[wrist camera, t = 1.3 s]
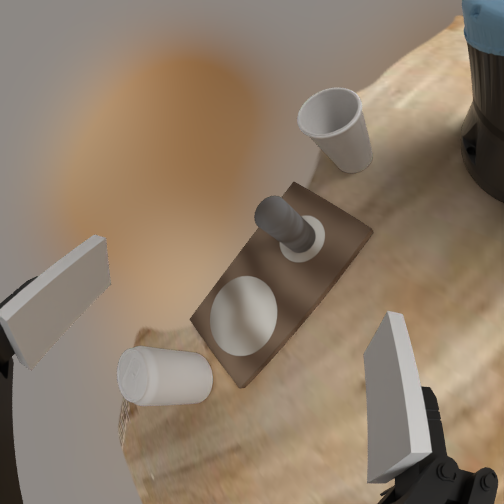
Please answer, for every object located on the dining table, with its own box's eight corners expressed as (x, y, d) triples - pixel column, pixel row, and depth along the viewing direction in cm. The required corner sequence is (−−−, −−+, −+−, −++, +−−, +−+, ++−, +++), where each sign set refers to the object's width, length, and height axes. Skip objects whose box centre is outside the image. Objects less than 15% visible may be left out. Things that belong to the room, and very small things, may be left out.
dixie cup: (340, 130, 41) (313, 84, 34) (389, 140, 36) (371, 90, 28) (317, 173, 41) (285, 131, 34) (368, 188, 36) (344, 142, 28)
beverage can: (172, 385, 44) (109, 382, 35) (188, 343, 45) (125, 333, 36) (203, 413, 39) (138, 418, 30) (223, 368, 40) (157, 365, 30)
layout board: (297, 185, 43) (264, 149, 36) (373, 232, 34) (352, 195, 27) (194, 320, 46) (148, 309, 38) (244, 387, 37) (196, 390, 30)
